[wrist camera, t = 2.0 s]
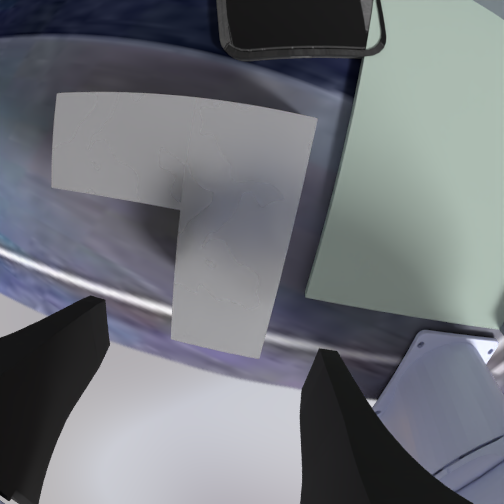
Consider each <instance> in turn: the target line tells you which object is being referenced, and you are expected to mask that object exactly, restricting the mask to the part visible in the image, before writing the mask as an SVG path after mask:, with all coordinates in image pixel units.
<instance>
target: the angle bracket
mask: <svg viewBox="0 0 504 504" xmlns="http://www.w3.org/2000/svg"><path fill="white" fill-rule="evenodd" d="M317 119H318V118H314V117H309V116H305V115H300V114H296V113H291V112H286V111H281V110H276V109H271V108H266V107H260V106H254V105H248V104H242V103H236V102H229V101H222V100H214V99H206V98H198V97H188V96H177V95H165V94H150V93H129V92H70V93H57V98H56V106H55V116H54V128H53V144H52V188H57V189H63V190H69V191H76V192H82V193H88V194H93V195H99V196H105V197H111V198H117V199H122V200H128V201H134V202H139V203H145V204H150V205H156V206H161V207H166V208H172V209H177V210H180V218H179V228H178V238H177V249H176V262H175V275H174V290H173V306H172V327H171V339H173V340H176V341H180V342H184V343H188V344H192V345H197V346H201V347H205V348H209V349H214V350H218V351H223V352H227V353H232V354H237V355H241V356H246V357H251V358H256V359H259V357H260V354H261V350H262V346H263V343H264V339H265V335H266V332H267V328H268V324H269V320H270V317H271V313H272V309H273V305H274V301H275V298H276V294H277V290H278V286H279V282H280V278H281V274H282V270H283V266H284V262H285V258H286V254H287V250H288V246H289V242H290V238H291V234H292V230H293V226H294V222H295V217H296V213H297V209H298V205H299V200H300V196H301V192H302V187H303V183H304V179H305V174H306V170H307V165H308V161H309V156H310V152H311V147H312V143H313V138H314V134H315V129H316V124H317Z"/></svg>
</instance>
